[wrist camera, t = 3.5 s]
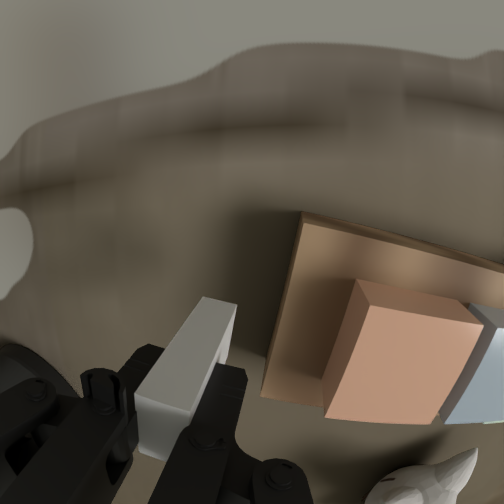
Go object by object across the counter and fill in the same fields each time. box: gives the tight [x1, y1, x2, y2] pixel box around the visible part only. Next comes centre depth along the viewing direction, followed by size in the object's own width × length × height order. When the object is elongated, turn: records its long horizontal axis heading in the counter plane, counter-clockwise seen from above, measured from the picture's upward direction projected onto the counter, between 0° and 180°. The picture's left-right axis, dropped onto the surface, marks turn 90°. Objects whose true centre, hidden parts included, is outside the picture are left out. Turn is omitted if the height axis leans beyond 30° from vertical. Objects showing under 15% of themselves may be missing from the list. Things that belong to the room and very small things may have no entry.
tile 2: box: [321, 279, 484, 424], centre depth 13 cm, size 6×6×3 cm
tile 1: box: [438, 303, 504, 424], centre depth 13 cm, size 6×6×3 cm
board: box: [260, 211, 504, 416], centre depth 16 cm, size 18×10×4 cm, turn 80°
